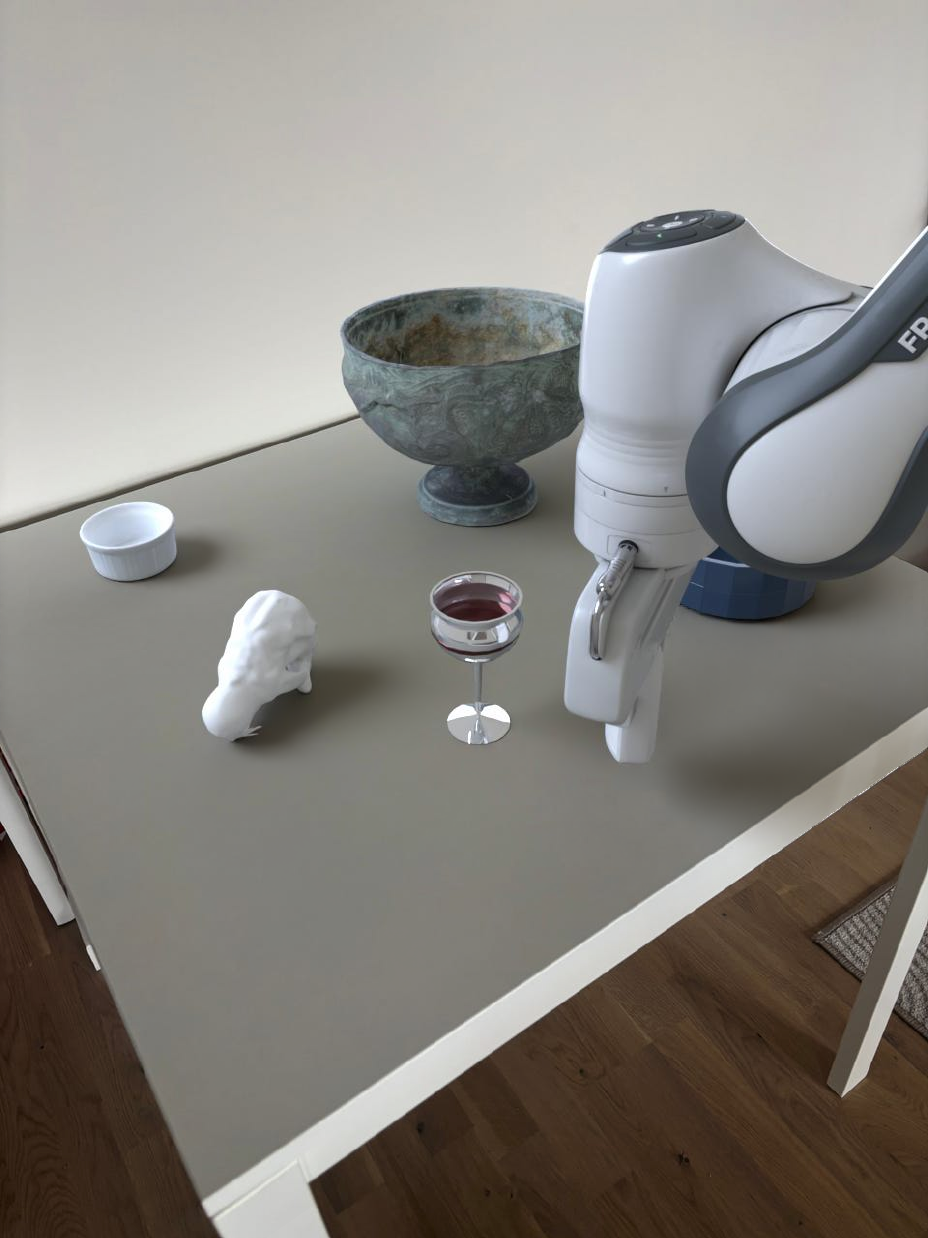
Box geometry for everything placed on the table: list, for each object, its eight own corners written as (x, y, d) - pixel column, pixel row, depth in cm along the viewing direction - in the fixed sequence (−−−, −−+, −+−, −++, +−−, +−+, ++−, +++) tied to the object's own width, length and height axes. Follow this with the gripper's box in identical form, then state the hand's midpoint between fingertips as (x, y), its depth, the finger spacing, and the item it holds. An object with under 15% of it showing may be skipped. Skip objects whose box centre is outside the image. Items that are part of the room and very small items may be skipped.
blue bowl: (824, 553, 95) (836, 499, 92) (801, 640, 84) (814, 582, 80) (671, 524, 100) (677, 472, 97) (630, 602, 89) (635, 546, 86)
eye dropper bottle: (583, 751, 67) (589, 609, 60) (618, 706, 71) (628, 567, 64) (641, 775, 65) (655, 630, 58) (675, 726, 69) (691, 585, 62)
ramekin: (187, 574, 95) (178, 536, 92) (92, 593, 92) (81, 554, 90) (176, 531, 101) (168, 494, 99) (88, 548, 99) (77, 511, 96)
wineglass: (538, 730, 75) (542, 603, 68) (465, 764, 72) (461, 635, 65) (490, 684, 80) (489, 560, 73) (419, 714, 77) (411, 589, 70)
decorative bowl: (418, 584, 91) (413, 377, 80) (313, 481, 110) (296, 302, 99) (640, 519, 102) (662, 330, 91) (510, 436, 121) (516, 270, 110)
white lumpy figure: (317, 587, 76) (234, 690, 68) (333, 666, 82) (258, 769, 74) (248, 572, 78) (160, 670, 70) (269, 649, 84) (189, 748, 76)
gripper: (656, 610, 48) (638, 805, 56) (737, 443, 63) (714, 616, 71) (537, 586, 51) (536, 777, 59) (643, 430, 66) (630, 599, 74)
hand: (634, 687), depth 65 cm, fingers closed on eye dropper bottle, 5 cm apart
